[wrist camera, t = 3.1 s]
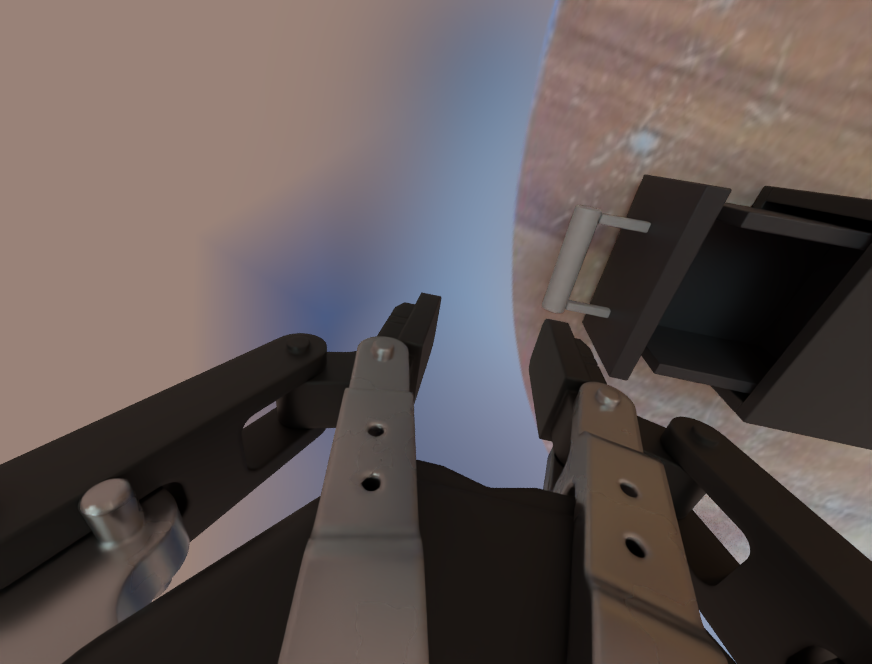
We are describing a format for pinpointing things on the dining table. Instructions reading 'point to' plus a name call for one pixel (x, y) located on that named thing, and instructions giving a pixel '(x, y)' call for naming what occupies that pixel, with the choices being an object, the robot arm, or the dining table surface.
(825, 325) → the drawer cabinet
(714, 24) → the dining table surface
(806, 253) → the dark brown drawer
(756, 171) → the dining table surface
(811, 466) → the dining table surface
